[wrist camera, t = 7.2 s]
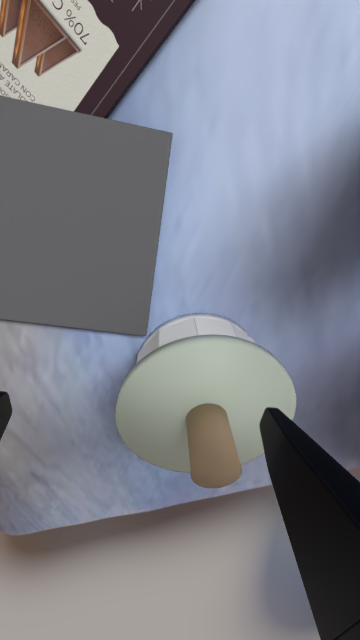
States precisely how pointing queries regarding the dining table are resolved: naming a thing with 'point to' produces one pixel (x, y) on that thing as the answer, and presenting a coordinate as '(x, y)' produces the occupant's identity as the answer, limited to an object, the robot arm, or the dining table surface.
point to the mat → (78, 217)
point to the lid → (202, 405)
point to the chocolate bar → (80, 49)
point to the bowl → (191, 330)
